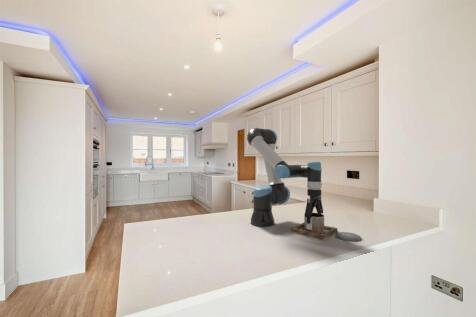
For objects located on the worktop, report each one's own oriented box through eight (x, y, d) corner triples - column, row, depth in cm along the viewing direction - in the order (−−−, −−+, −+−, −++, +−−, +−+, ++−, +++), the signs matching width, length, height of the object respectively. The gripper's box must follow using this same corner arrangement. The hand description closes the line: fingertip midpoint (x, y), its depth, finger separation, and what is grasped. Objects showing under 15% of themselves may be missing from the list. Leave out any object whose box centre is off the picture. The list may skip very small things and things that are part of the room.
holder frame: (290, 231, 125) (290, 228, 125) (305, 224, 139) (305, 221, 139) (324, 239, 112) (324, 236, 112) (337, 231, 126) (337, 228, 126)
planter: (302, 232, 123) (302, 215, 123) (306, 227, 133) (306, 211, 133) (323, 235, 118) (323, 217, 118) (325, 230, 128) (325, 213, 128)
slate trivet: (332, 237, 116) (332, 235, 116) (339, 231, 125) (339, 230, 125) (357, 243, 108) (357, 241, 108) (363, 237, 117) (363, 235, 117)
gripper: (311, 191, 114) (311, 233, 114) (329, 187, 132) (329, 223, 132) (298, 190, 119) (297, 230, 119) (316, 186, 137) (316, 221, 137)
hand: (314, 226), depth 125 cm, fingers open, 12 cm apart
